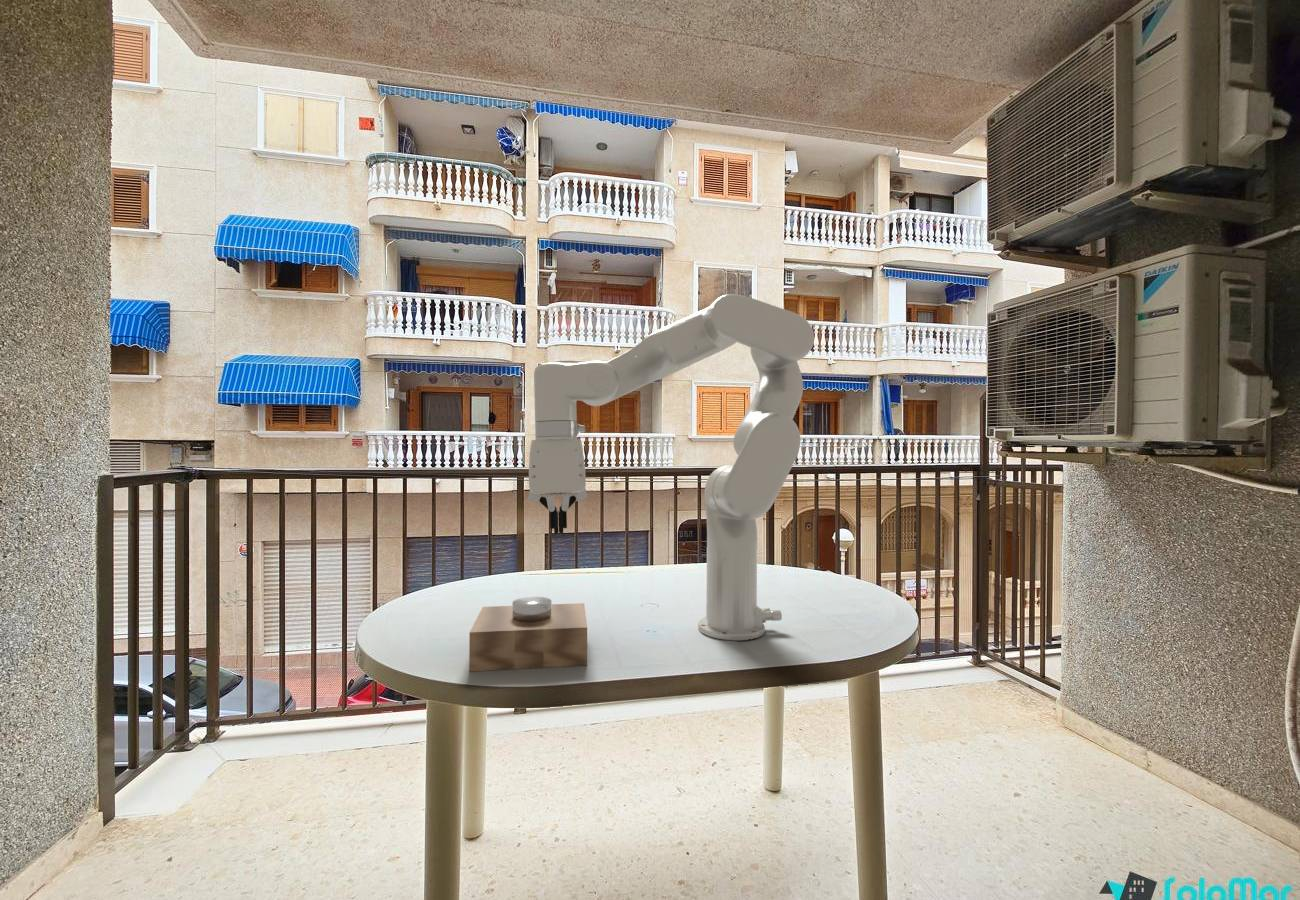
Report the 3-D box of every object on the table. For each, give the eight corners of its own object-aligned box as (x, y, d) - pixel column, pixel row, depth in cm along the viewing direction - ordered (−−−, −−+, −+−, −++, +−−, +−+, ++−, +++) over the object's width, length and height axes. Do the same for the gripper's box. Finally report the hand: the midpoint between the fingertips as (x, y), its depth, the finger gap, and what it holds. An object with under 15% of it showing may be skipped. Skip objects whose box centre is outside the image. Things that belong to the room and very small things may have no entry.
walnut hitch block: (583, 635, 102) (584, 603, 102) (587, 665, 88) (587, 627, 88) (482, 640, 99) (482, 606, 99) (469, 671, 85) (469, 632, 85)
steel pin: (551, 638, 97) (551, 596, 97) (550, 652, 91) (550, 606, 91) (514, 640, 96) (514, 597, 96) (510, 654, 90) (510, 607, 90)
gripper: (595, 432, 106) (597, 527, 106) (515, 433, 103) (517, 531, 103) (599, 430, 99) (601, 533, 99) (513, 432, 96) (515, 538, 96)
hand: (558, 532), depth 101 cm, fingers closed
